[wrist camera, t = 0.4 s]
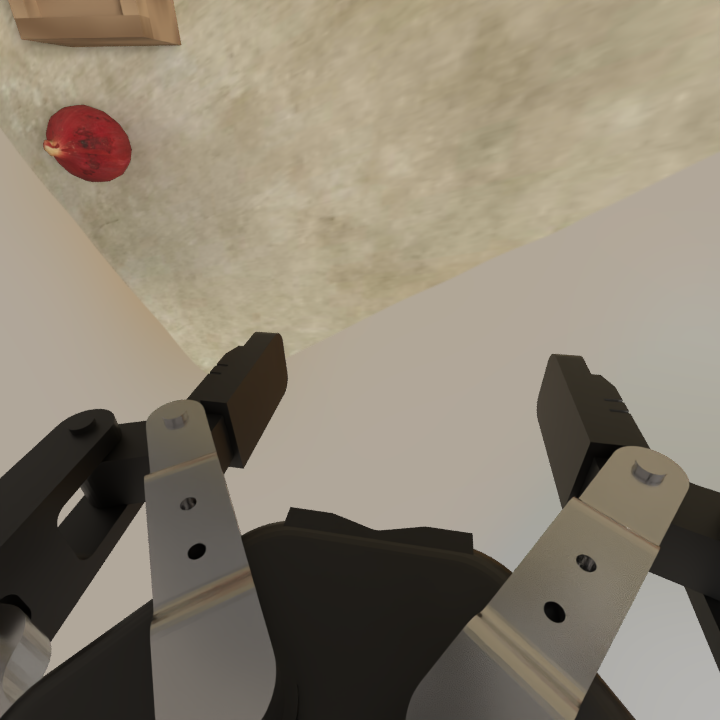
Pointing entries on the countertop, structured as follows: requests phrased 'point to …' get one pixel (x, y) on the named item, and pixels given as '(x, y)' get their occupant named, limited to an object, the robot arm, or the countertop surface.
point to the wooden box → (97, 22)
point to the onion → (88, 143)
